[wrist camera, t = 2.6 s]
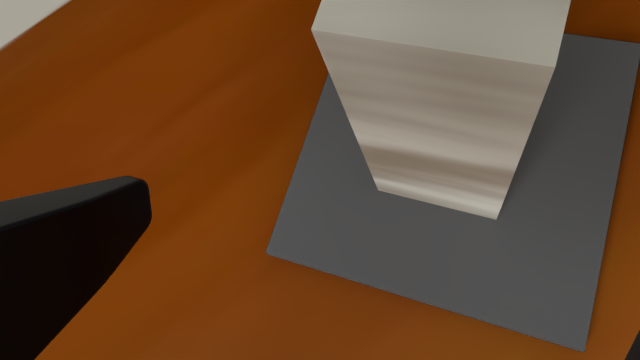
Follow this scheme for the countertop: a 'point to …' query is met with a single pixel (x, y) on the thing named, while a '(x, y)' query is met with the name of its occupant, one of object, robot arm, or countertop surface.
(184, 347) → the countertop surface
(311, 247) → the rubber mat
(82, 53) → the countertop surface
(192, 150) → the countertop surface
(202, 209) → the countertop surface
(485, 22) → the tall block
